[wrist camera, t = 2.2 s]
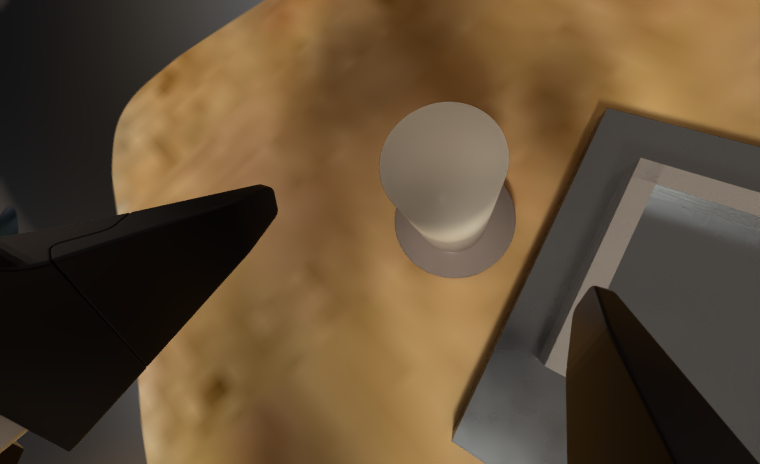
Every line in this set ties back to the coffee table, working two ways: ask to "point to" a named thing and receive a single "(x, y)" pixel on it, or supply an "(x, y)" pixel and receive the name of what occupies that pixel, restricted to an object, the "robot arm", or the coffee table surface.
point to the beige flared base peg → (449, 188)
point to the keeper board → (633, 284)
